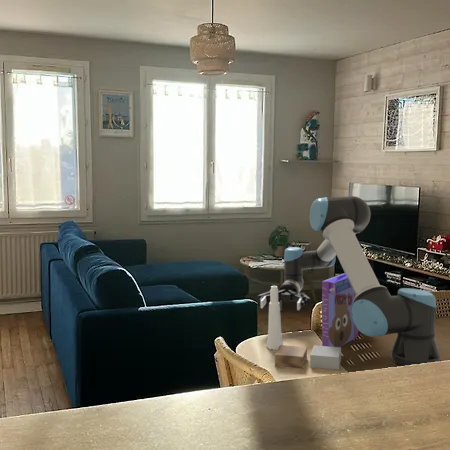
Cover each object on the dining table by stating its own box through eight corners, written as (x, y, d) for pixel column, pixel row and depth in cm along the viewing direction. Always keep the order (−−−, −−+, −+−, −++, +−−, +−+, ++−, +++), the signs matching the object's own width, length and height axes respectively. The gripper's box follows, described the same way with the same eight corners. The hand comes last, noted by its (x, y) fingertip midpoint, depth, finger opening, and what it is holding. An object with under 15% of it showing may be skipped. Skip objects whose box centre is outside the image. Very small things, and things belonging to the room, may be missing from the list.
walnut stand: (306, 358, 188) (306, 347, 187) (303, 368, 179) (302, 356, 179) (280, 356, 190) (280, 345, 190) (275, 366, 182) (274, 354, 181)
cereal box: (334, 350, 195) (334, 282, 191) (322, 347, 198) (322, 280, 194) (358, 337, 208) (358, 273, 204) (346, 334, 211) (346, 271, 207)
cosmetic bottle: (286, 346, 200) (285, 285, 197) (278, 351, 195) (277, 289, 192) (271, 343, 203) (270, 283, 200) (263, 348, 198) (262, 287, 195)
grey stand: (341, 359, 186) (341, 347, 186) (338, 369, 178) (338, 357, 177) (313, 356, 189) (313, 345, 188) (310, 367, 180) (310, 355, 180)
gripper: (320, 301, 224) (313, 317, 204) (259, 298, 231) (246, 313, 211) (320, 283, 223) (313, 297, 203) (259, 280, 230) (246, 293, 210)
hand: (279, 305), depth 207 cm, fingers open, 13 cm apart
